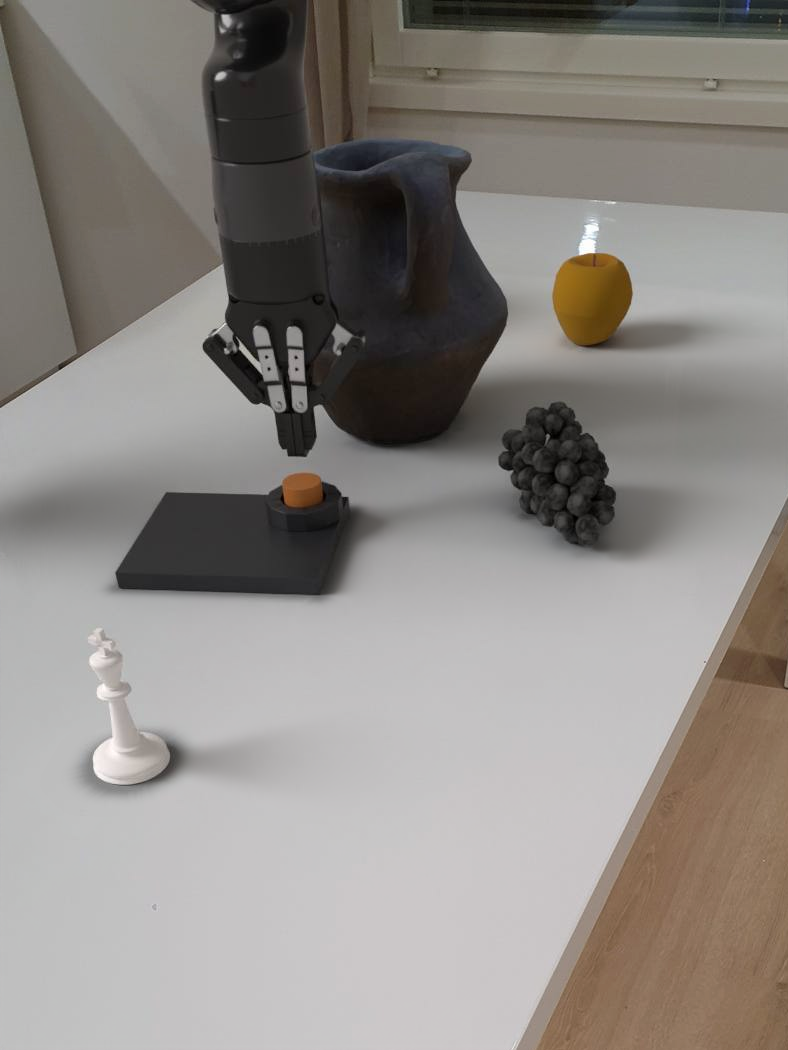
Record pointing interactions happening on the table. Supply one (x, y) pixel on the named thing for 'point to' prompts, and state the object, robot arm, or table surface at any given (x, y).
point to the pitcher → (403, 287)
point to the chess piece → (122, 724)
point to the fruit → (560, 473)
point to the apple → (591, 297)
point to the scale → (236, 543)
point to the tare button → (302, 490)
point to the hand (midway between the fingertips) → (299, 452)
